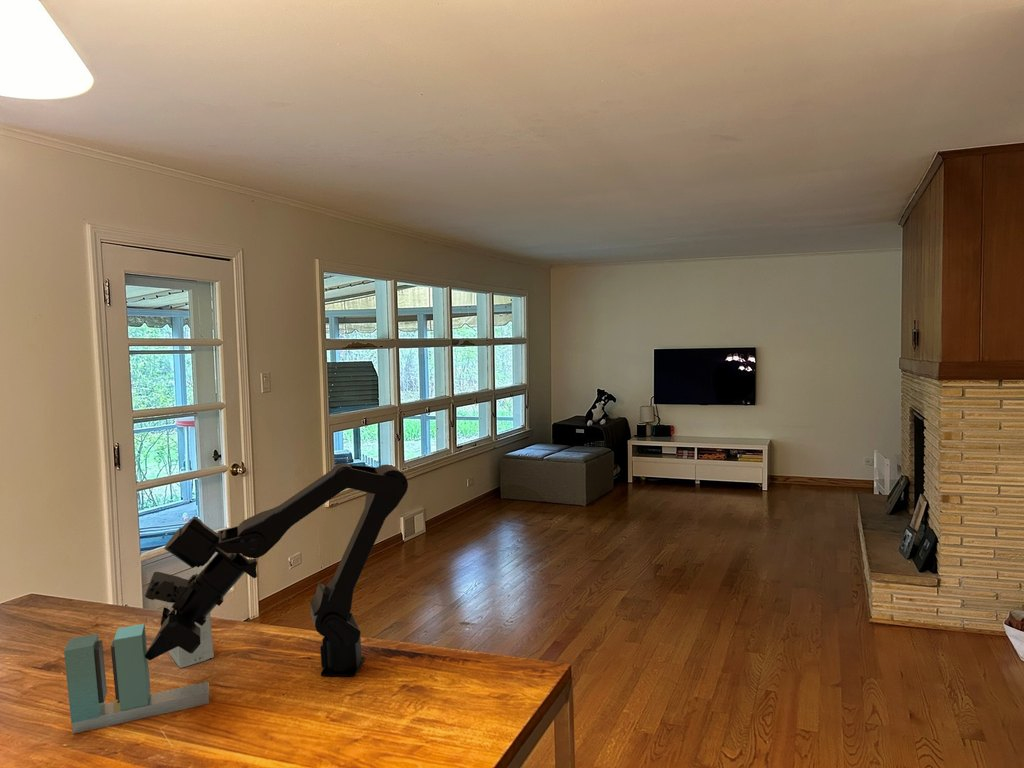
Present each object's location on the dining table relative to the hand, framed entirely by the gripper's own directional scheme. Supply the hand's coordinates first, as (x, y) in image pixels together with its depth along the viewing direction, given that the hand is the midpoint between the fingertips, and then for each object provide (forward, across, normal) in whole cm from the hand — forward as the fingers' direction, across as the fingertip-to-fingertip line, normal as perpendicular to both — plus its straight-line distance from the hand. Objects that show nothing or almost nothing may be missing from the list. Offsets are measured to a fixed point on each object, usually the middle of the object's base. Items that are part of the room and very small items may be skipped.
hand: (147, 657), depth 117 cm
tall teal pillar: (+7, 0, +3) cm, 7 cm away
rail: (+7, 0, +6) cm, 9 cm away
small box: (+3, -19, +10) cm, 22 cm away
